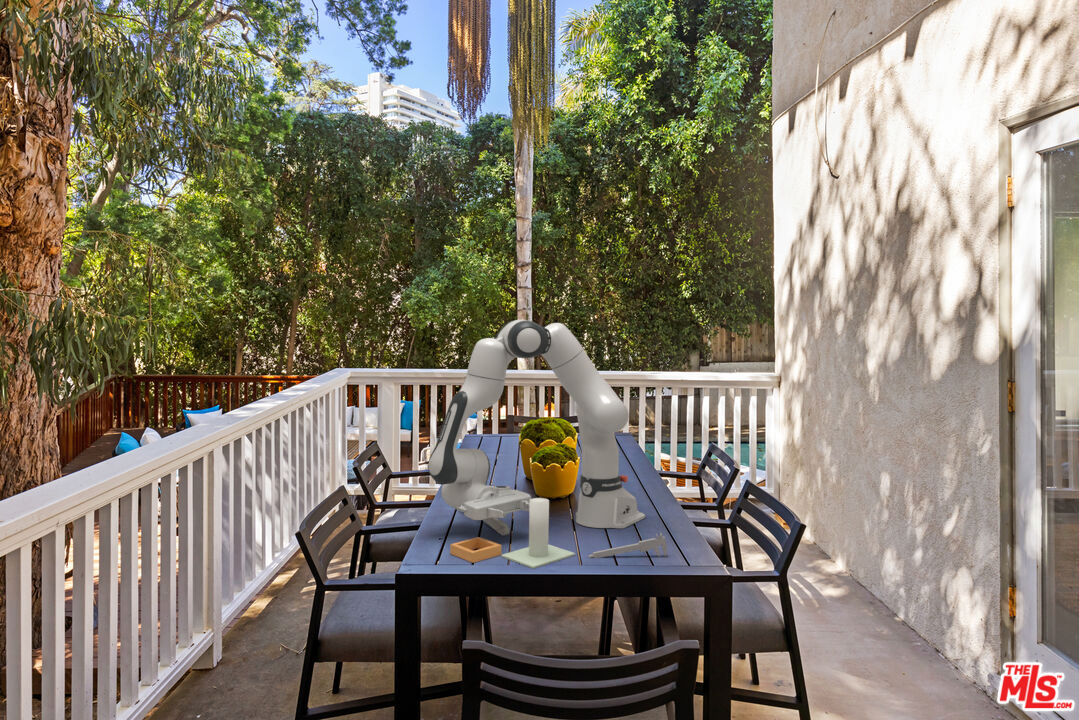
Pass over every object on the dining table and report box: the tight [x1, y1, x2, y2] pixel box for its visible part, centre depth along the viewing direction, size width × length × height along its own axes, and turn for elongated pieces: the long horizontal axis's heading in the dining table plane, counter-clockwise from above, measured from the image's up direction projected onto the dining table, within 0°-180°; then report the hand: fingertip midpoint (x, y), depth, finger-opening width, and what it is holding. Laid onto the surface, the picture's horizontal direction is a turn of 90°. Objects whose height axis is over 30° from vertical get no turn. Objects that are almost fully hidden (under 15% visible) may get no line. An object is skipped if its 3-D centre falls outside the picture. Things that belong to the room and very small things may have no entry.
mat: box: [500, 543, 576, 570], centre depth 187 cm, size 15×12×1 cm
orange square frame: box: [449, 536, 502, 564], centre depth 188 cm, size 9×9×2 cm
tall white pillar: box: [528, 497, 550, 557], centre depth 186 cm, size 5×5×14 cm
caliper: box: [587, 532, 668, 559], centre depth 187 cm, size 20×1×6 cm, turn 94°
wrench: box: [482, 517, 510, 536], centre depth 216 cm, size 8×2×30 cm
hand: (517, 511), depth 192 cm, fingers open, 8 cm apart
